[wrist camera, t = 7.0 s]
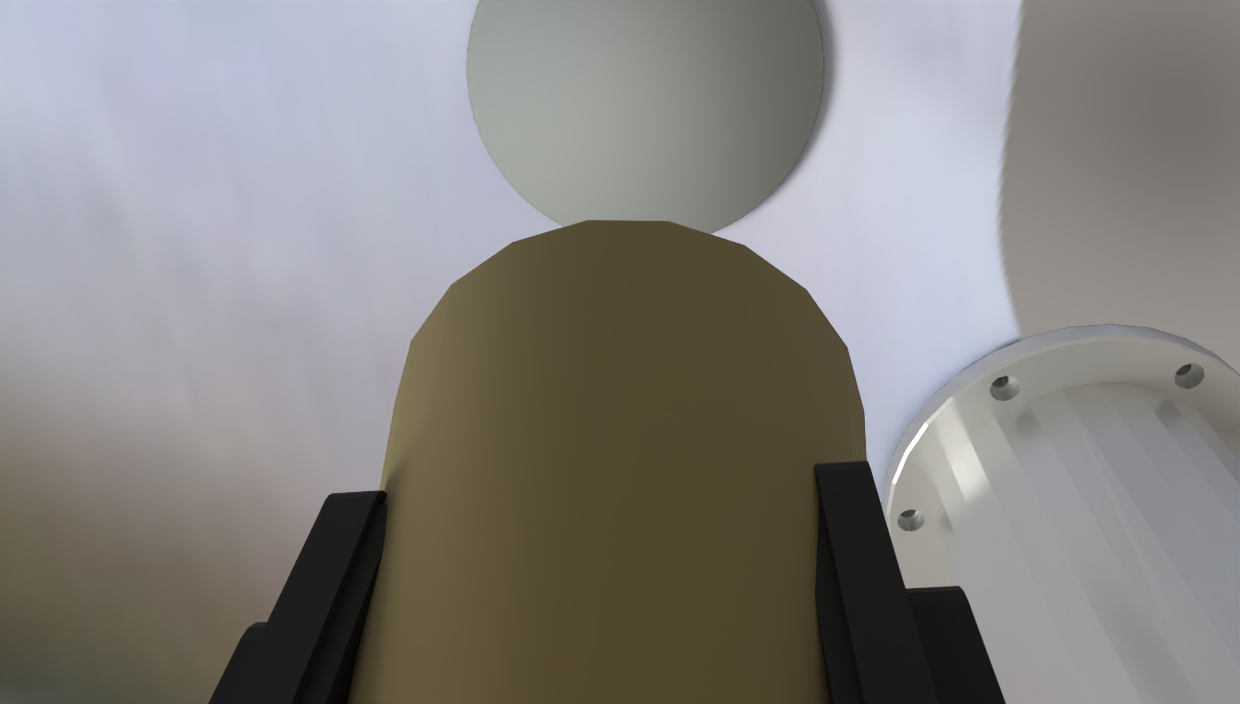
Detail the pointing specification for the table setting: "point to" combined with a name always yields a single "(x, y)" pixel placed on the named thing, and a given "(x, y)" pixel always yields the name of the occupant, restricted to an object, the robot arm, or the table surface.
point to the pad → (645, 103)
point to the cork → (610, 479)
